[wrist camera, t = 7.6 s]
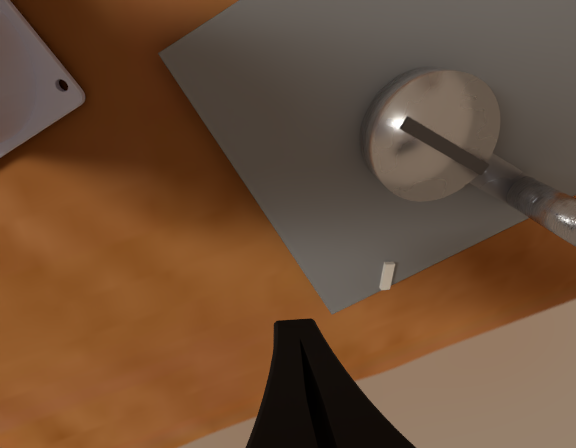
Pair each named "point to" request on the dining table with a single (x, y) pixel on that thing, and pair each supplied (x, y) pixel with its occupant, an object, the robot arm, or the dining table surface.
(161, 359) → the dining table surface
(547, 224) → the grey piece
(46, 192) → the dining table surface
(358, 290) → the grey square mat
